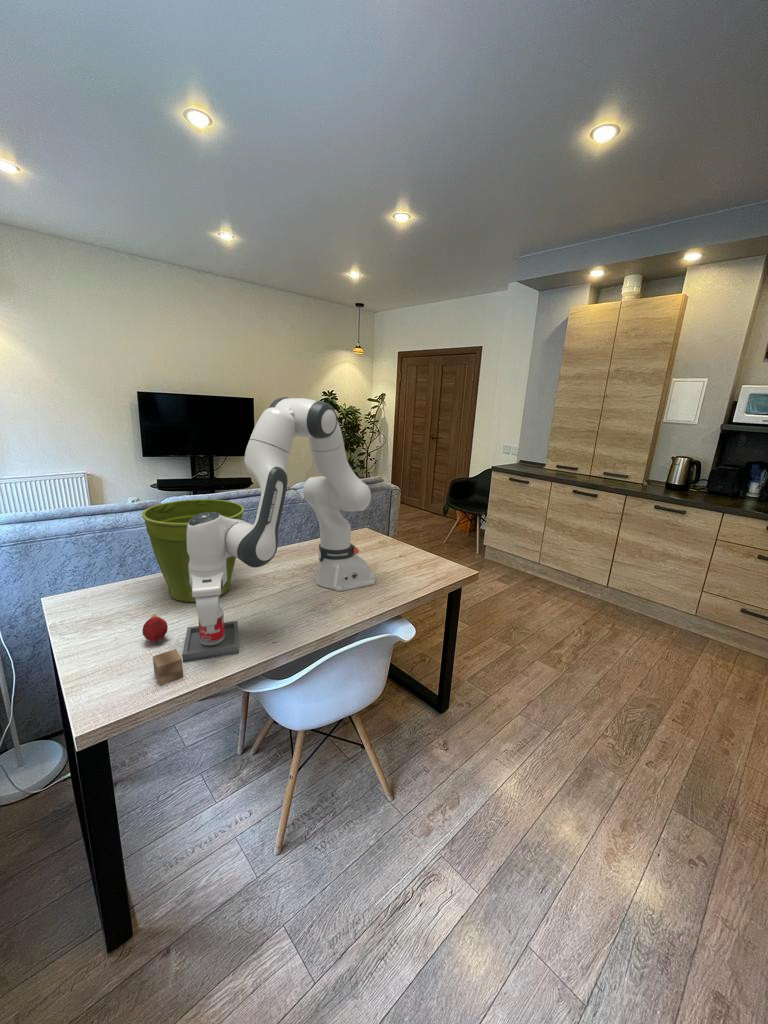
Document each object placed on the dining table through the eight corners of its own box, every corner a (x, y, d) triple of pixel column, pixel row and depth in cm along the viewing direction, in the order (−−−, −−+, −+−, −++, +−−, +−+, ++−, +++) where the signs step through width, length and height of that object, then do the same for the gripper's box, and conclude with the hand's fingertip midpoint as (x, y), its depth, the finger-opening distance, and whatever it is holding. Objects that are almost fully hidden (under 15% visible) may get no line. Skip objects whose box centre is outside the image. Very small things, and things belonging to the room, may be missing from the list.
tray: (237, 627, 114) (237, 620, 114) (238, 653, 102) (238, 646, 102) (188, 634, 110) (187, 627, 109) (182, 662, 98) (182, 654, 97)
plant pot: (161, 576, 144) (154, 499, 137) (247, 570, 153) (244, 498, 146) (139, 617, 117) (129, 524, 109) (245, 607, 126) (242, 520, 118)
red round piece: (172, 641, 106) (169, 615, 104) (148, 650, 102) (145, 622, 100) (163, 633, 109) (161, 607, 107) (140, 641, 105) (137, 614, 103)
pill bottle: (197, 647, 102) (194, 609, 99) (202, 634, 108) (200, 597, 105) (222, 645, 104) (220, 607, 101) (226, 632, 109) (224, 596, 106)
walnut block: (177, 666, 96) (175, 648, 95) (183, 677, 93) (181, 659, 91) (154, 674, 93) (152, 656, 92) (159, 686, 89) (157, 667, 88)
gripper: (197, 561, 109) (201, 606, 113) (191, 594, 91) (195, 647, 94) (222, 559, 111) (225, 603, 115) (220, 591, 93) (223, 642, 97)
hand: (211, 623), depth 105 cm, fingers open, 6 cm apart
